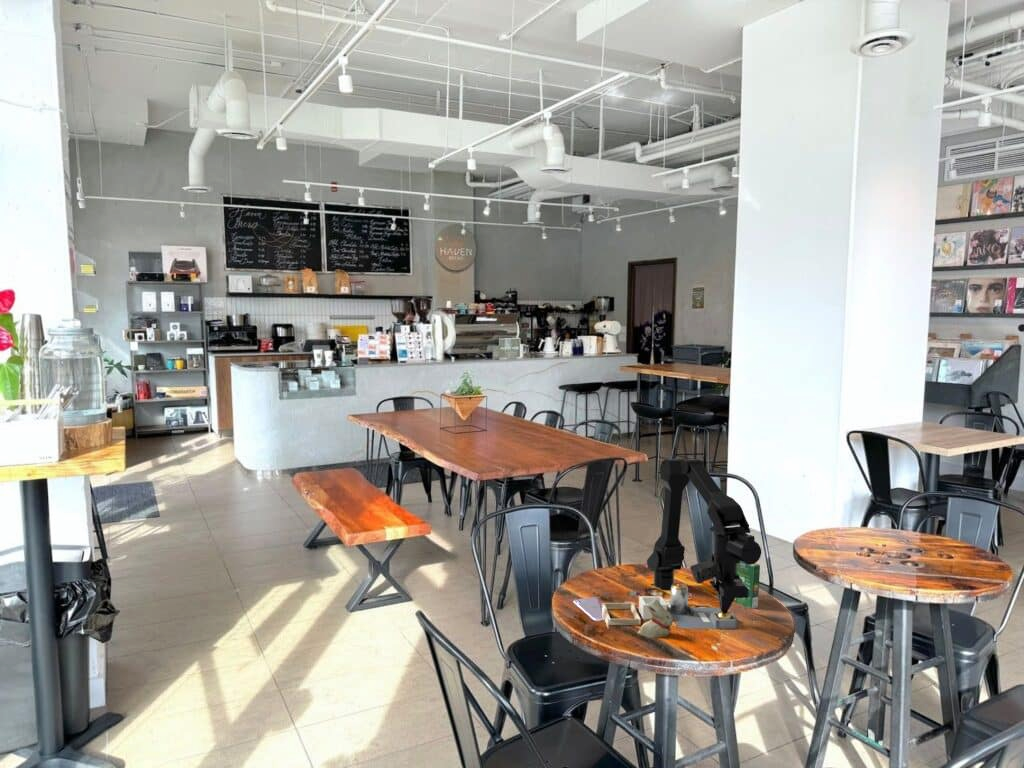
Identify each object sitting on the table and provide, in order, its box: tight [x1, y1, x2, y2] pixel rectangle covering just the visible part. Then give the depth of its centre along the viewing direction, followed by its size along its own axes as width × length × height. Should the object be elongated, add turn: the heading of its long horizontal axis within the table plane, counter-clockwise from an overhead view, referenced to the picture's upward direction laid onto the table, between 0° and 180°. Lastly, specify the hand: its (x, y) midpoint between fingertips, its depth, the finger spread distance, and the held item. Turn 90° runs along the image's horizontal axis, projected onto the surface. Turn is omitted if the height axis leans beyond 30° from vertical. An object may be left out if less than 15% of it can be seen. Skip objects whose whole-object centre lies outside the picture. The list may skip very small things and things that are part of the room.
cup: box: [638, 595, 668, 620], centre depth 188 cm, size 6×6×5 cm
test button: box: [718, 611, 731, 619], centre depth 183 cm, size 3×3×2 cm
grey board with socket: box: [666, 603, 740, 630], centre depth 187 cm, size 14×16×3 cm
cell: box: [670, 582, 689, 615], centre depth 190 cm, size 4×4×7 cm
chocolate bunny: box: [637, 599, 674, 639], centre depth 176 cm, size 6×8×10 cm
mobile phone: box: [572, 596, 605, 622], centre depth 195 cm, size 8×1×15 cm
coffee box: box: [733, 561, 761, 610], centre depth 196 cm, size 8×3×13 cm, turn 29°
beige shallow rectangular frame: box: [601, 602, 642, 631], centre depth 187 cm, size 11×8×3 cm
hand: (724, 612), depth 182 cm, fingers closed, pressing on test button
